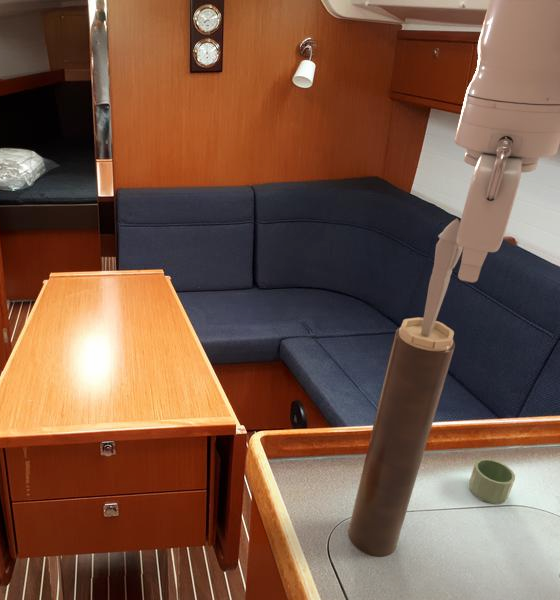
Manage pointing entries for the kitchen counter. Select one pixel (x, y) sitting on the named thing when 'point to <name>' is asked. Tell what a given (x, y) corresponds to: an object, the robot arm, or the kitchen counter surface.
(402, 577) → the kitchen counter surface
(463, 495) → the kitchen counter surface
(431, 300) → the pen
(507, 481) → the olive short hollow cylinder
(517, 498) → the kitchen counter surface
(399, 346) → the pedestal
